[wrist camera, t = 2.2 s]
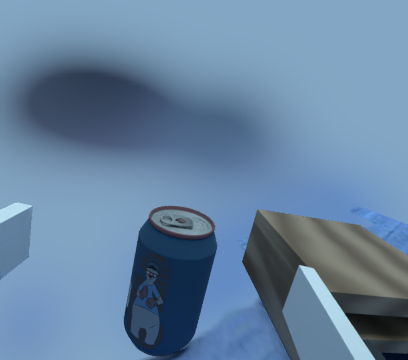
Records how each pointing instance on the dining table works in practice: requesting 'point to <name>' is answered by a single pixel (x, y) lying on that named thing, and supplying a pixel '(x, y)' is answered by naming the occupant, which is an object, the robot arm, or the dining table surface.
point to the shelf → (332, 274)
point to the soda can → (169, 279)
